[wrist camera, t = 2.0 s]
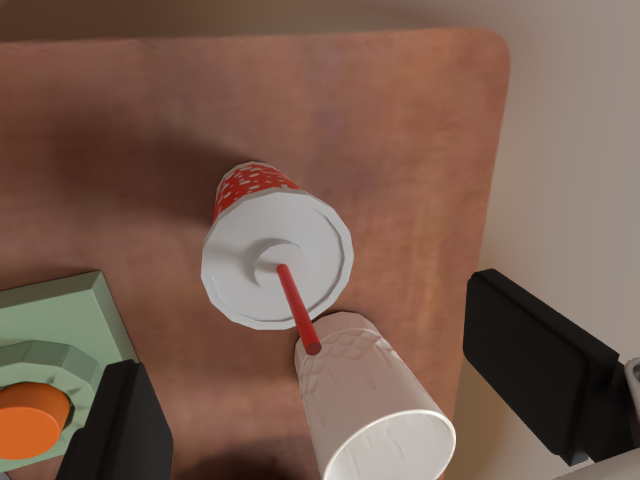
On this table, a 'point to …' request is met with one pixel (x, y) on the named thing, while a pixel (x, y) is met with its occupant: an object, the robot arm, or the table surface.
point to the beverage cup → (274, 253)
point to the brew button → (30, 419)
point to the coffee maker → (4, 476)
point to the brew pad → (61, 344)
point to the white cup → (368, 407)
